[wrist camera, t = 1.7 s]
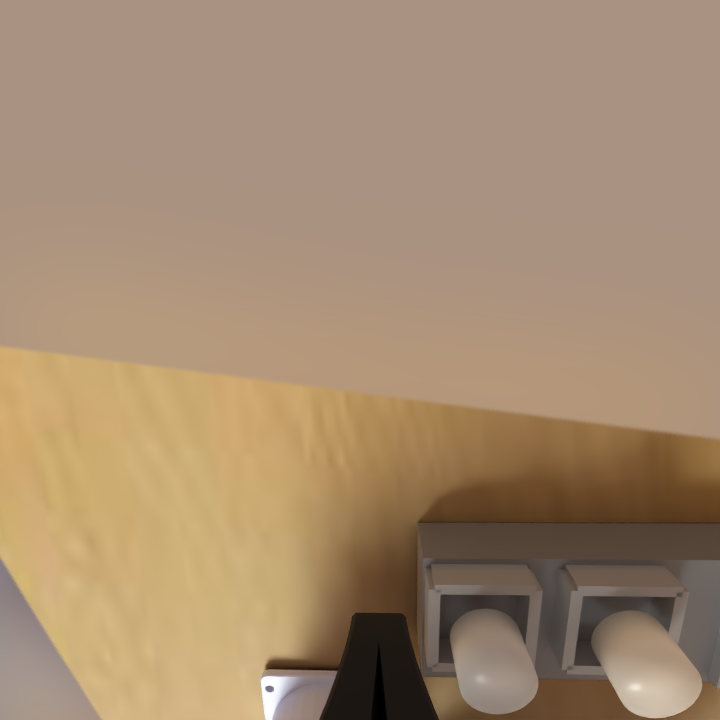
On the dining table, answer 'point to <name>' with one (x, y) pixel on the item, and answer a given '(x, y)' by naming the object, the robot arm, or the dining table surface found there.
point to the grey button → (492, 662)
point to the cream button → (645, 665)
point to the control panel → (569, 588)
